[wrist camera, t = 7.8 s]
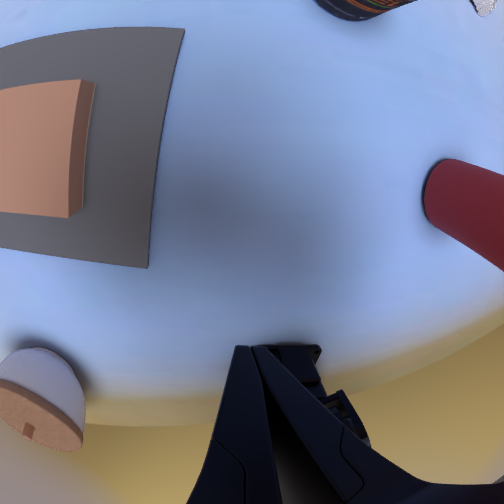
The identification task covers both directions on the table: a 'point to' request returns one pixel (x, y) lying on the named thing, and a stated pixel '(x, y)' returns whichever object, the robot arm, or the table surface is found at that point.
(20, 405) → the lidded jar
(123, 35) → the mat
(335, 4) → the pill bottle
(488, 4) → the pincushion
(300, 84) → the table surface
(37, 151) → the tile
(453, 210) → the beer can
